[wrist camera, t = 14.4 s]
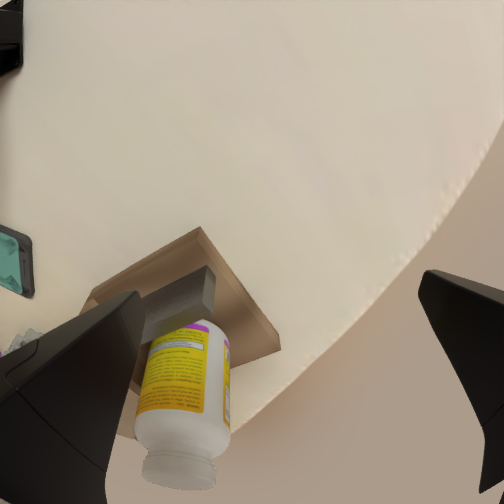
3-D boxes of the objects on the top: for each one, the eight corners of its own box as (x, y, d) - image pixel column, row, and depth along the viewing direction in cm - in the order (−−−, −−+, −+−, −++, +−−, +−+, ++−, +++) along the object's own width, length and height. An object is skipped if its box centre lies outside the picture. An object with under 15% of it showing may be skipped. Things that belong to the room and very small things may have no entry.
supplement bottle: (138, 333, 25) (106, 469, 14) (191, 299, 23) (170, 461, 12) (191, 371, 28) (182, 496, 17) (245, 344, 26) (252, 486, 15)
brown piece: (92, 289, 25) (68, 336, 20) (200, 226, 22) (189, 274, 17) (178, 371, 31) (171, 417, 26) (278, 334, 28) (286, 386, 23)
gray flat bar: (111, 313, 24) (96, 348, 20) (207, 264, 21) (202, 301, 18) (120, 322, 24) (107, 357, 21) (216, 276, 22) (213, 314, 19)
